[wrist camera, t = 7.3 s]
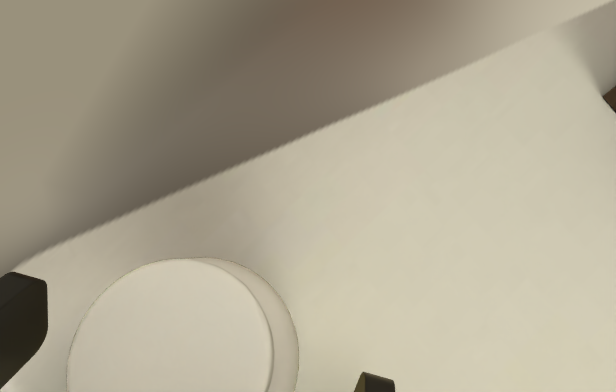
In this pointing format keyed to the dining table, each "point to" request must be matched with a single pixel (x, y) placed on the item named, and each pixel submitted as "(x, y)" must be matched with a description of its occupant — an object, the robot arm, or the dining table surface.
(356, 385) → the robot arm
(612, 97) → the shelf
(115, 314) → the supplement bottle
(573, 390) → the dining table surface
